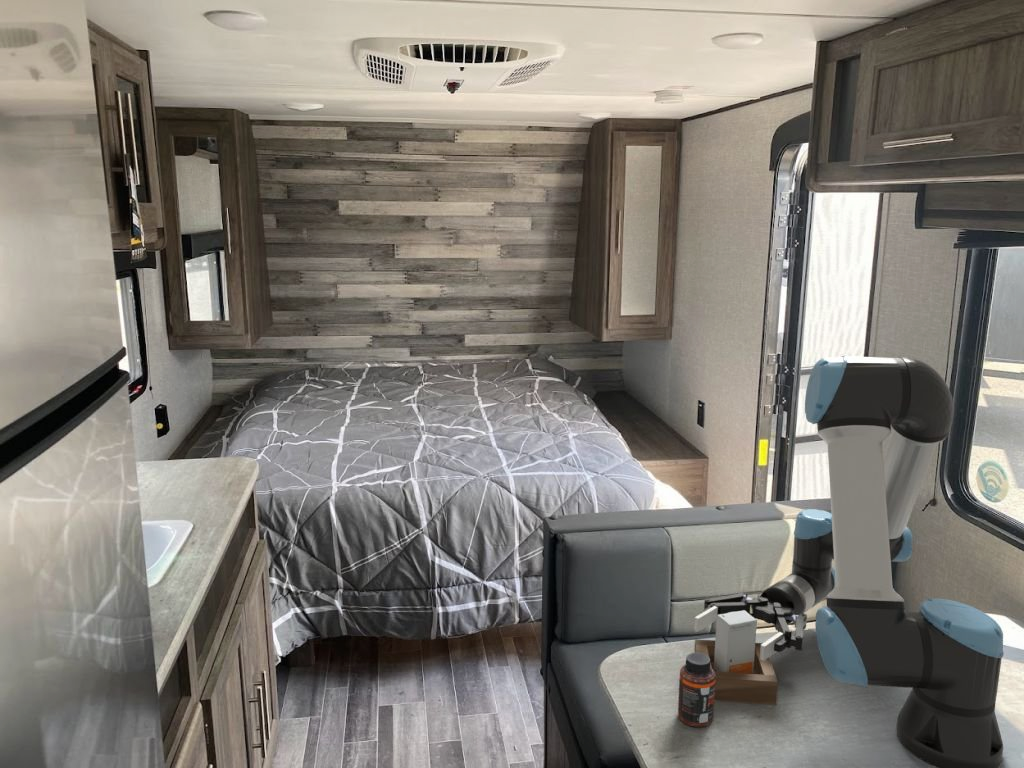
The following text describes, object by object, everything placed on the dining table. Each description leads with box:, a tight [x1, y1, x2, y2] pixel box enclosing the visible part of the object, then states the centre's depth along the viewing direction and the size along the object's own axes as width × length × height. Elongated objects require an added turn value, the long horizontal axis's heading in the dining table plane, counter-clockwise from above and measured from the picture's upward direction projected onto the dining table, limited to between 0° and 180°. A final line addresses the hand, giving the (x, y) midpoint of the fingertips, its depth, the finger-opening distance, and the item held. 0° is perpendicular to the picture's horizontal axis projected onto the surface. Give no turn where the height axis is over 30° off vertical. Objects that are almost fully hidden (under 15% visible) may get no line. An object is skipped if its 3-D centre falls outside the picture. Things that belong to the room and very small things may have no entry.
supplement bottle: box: [677, 652, 715, 728], centre depth 134 cm, size 6×6×11 cm
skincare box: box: [714, 610, 758, 674], centre depth 144 cm, size 6×4×12 cm
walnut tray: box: [693, 638, 779, 706], centre depth 145 cm, size 13×13×4 cm
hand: (727, 638), depth 142 cm, fingers open, 13 cm apart
